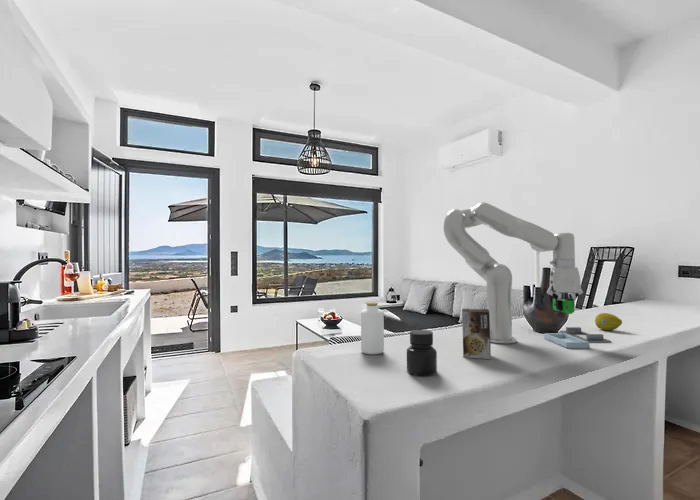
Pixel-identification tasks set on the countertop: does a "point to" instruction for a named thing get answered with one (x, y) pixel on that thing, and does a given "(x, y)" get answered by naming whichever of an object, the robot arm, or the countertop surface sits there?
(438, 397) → the countertop surface
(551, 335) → the parts tray
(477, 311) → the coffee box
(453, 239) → the robot arm
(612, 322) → the lemon
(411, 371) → the ink bottle
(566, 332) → the rack rail
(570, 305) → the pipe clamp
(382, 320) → the white bottle
